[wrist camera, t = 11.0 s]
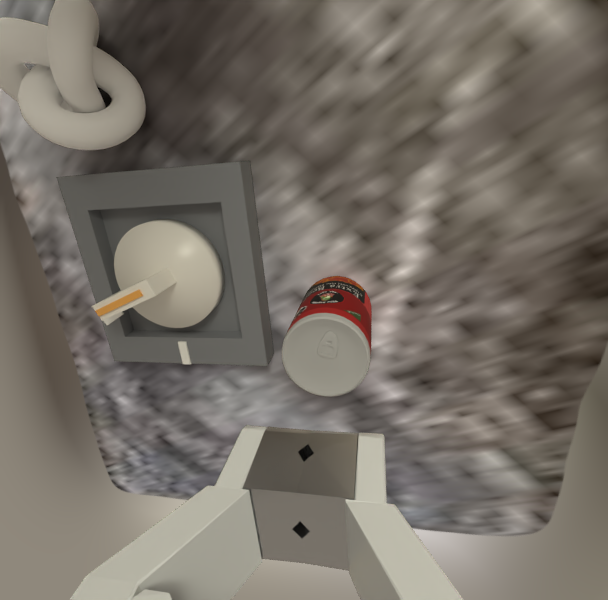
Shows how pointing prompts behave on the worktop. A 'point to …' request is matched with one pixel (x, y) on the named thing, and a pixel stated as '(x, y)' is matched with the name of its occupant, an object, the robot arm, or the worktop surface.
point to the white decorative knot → (69, 79)
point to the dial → (166, 274)
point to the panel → (204, 217)
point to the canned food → (329, 338)
